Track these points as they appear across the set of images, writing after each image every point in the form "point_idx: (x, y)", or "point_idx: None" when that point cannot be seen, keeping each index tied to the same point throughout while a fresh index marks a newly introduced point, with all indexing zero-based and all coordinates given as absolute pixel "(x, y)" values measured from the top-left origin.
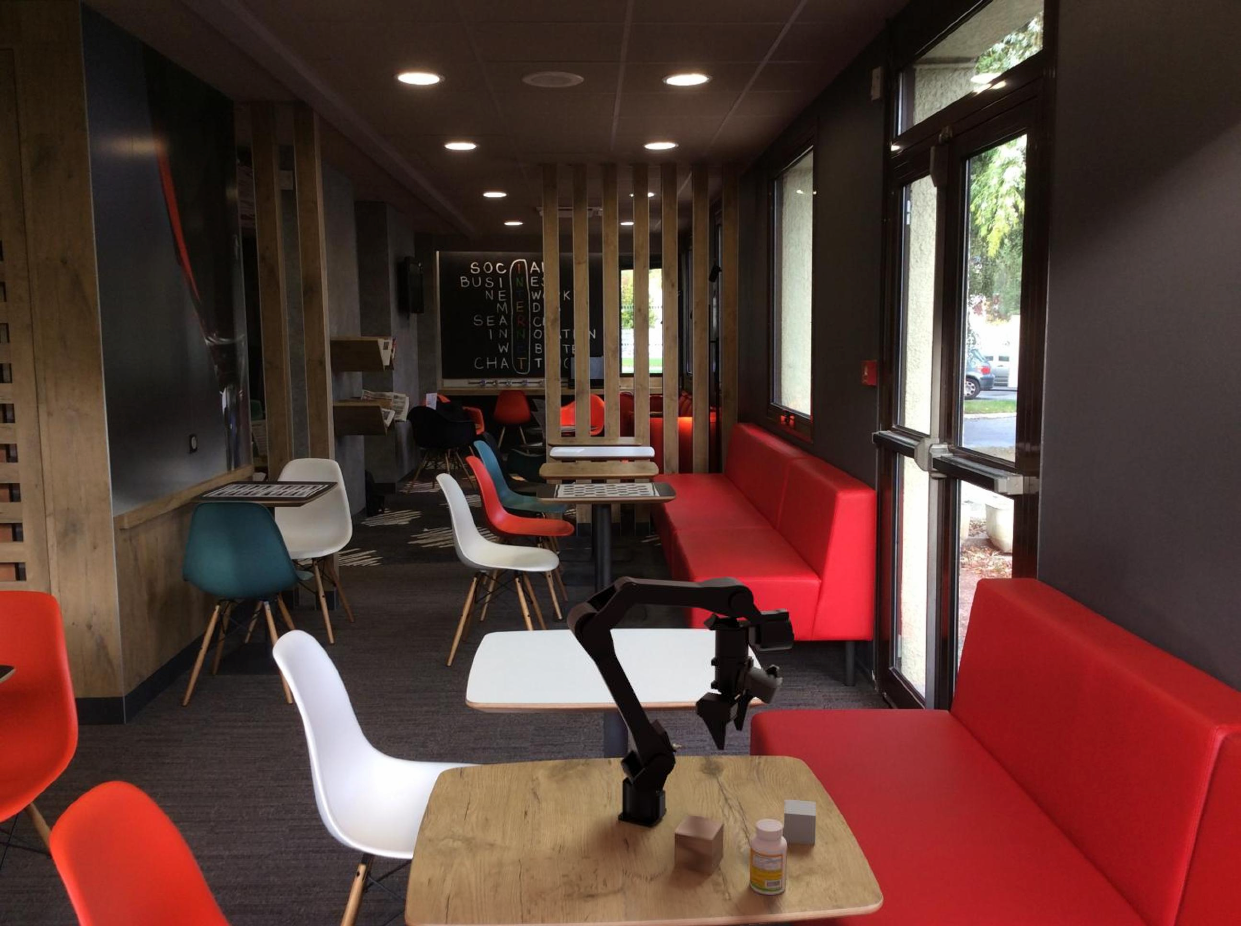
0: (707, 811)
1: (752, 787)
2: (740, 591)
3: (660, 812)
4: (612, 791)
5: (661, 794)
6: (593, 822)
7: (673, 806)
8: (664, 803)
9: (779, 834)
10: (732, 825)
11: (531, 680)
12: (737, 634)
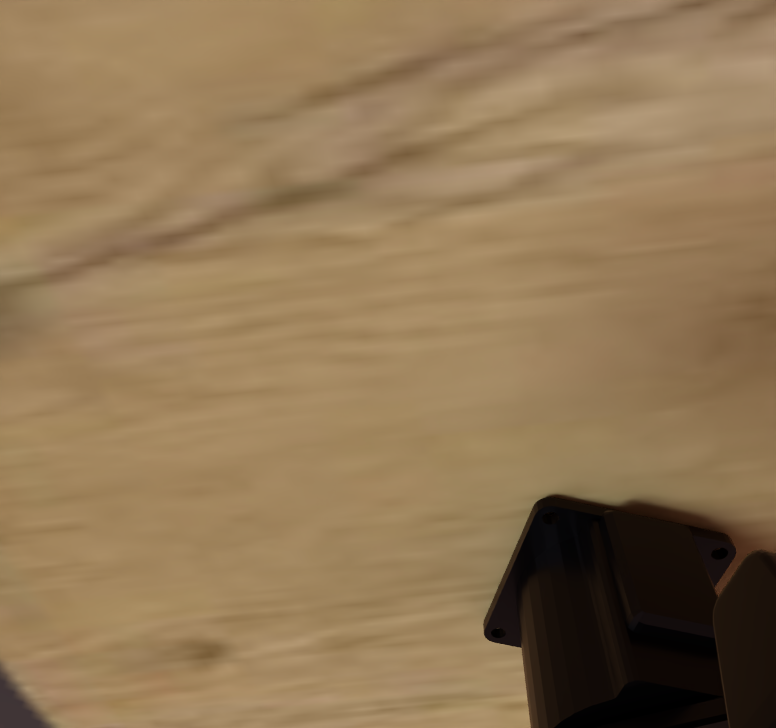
0: (500, 293)
1: (34, 19)
2: None
3: (689, 547)
4: (372, 699)
5: (697, 628)
6: None
7: (470, 469)
8: (640, 557)
9: None
10: (691, 107)
11: None
12: None
